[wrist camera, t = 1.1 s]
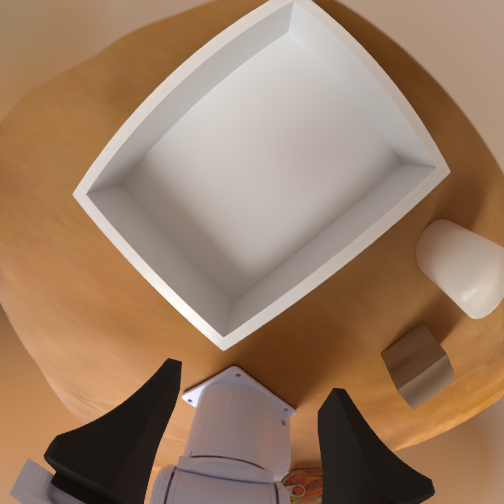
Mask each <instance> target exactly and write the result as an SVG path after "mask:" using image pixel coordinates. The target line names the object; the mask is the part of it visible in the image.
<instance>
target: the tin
mask: <svg viewBox="0 0 504 504" xmlns="http://www.w3.org/2000/svg"><path fill="white" fill-rule="evenodd" d="M280 482H281V483H282V484H283V485H284V487H285V488H286V489H287V490H288V492H289V495H290V501H291V504H321V502H322V488H323V468H308V469H298V470H294V471H292V472H290V473H288V474H287V475H286V476H284V478H283V479H282V480H281V481H280Z"/></svg>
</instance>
